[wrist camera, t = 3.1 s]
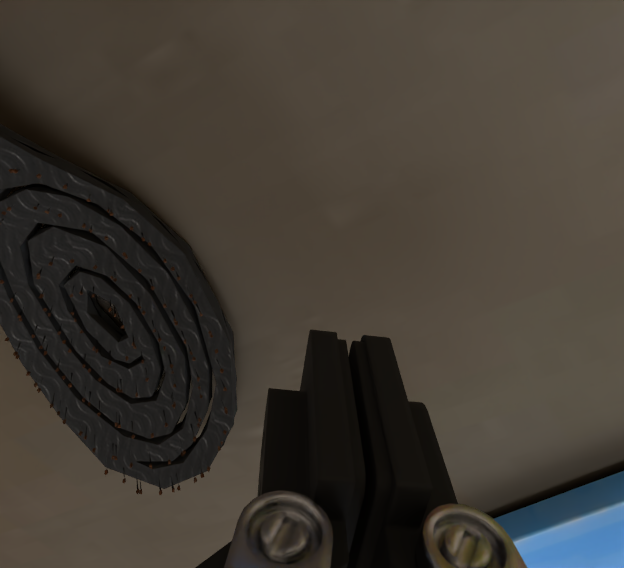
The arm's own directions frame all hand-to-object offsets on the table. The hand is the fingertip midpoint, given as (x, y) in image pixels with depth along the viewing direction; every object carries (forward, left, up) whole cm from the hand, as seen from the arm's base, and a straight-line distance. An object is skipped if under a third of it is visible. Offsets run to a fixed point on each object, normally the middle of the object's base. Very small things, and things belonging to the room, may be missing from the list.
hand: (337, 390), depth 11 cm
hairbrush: (0, -10, -10) cm, 14 cm away
